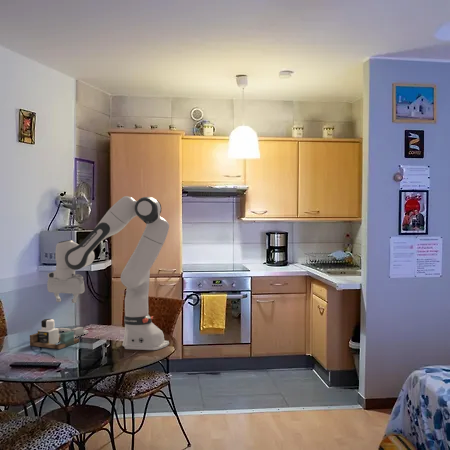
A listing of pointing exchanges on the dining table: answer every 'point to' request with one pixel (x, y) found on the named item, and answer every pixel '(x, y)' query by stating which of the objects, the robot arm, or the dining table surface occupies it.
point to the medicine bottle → (48, 332)
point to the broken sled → (75, 331)
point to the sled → (64, 340)
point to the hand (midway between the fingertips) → (66, 302)
